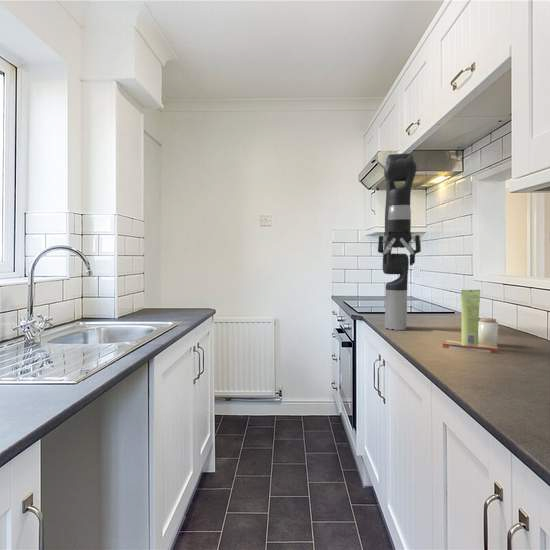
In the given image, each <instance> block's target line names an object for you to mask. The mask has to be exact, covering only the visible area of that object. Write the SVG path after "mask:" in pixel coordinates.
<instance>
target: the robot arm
mask: <svg viewBox="0 0 550 550" xmlns="http://www.w3.org/2000/svg"><path fill="white" fill-rule="evenodd" d="M414 160H415V159H414V156H413V155H412V154H411V153H392V154H388V155H387V157H386V161H385V165H384V170H383V174H384V175H383V177H384V178H385V183H386V184H385V185H386V188H385V209H384V235H379V236H378V243H377V245H378V246H377V252H378V253H380V254H382V271H383V274H384V275H399V276H398V278H396V279H394V280H392V281H389V282H386V284H385V291H384V292H385V299H384V300H385V303H384V305H385V306H384V328H385V329H387V328H388V330H392V329H394V330H395V331H404V330H407V327H408V326H407V325H408V324H407V322H408V320H407V319H408V282H409V281H408V277H409V266H413V265H414V264H415V262H416V254H418V253H420V252H422V246H421V245H422V244H421V235H419V234H418V235H412V234H411V226H412V209H411V192H412V188H413V187H412V186H413V183H414V181H415V176H416V173H417V169H418V168H417V164H416V162H415V161H414ZM396 182H404V184H403V185H402V186H400V187H397V186H396V184H395V183H396ZM412 240H413V242H414V243H415V249H414V248H413V247H412V245H411V244H410V242H411V241H412ZM393 248H394V249H398V248H400V249H404V248H405V249H406V250H407V251H408V252H409V256H408V254H407V253H392V250H393ZM394 330H393V331H394Z"/></svg>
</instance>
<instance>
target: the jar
mask: <svg viewBox="0 0 550 550" xmlns="http://www.w3.org/2000/svg"><path fill="white" fill-rule="evenodd" d="M479 318H480V320H479V323H478V344H479V345H482V346H491V347H494V346H497V347H498V339H499V338H498V337H499V336H498V335H499V322H498V321H497V318H493V317H492V318H491V317H479Z"/></svg>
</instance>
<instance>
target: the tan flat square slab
mask: <svg viewBox="0 0 550 550" xmlns="http://www.w3.org/2000/svg"><path fill="white" fill-rule="evenodd" d="M442 348H445V349H451V350H462V351H471V352H480V353H488V354H498V353H499V349H498V348H499V347H498V345H497V346H494V347H491V346H482V345H479V344H478V347H473V346H463V345H461V340H455V339H447V340H446V341H445V343H442Z"/></svg>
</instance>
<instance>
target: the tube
mask: <svg viewBox="0 0 550 550" xmlns="http://www.w3.org/2000/svg"><path fill="white" fill-rule="evenodd" d="M460 298H461V299H460V301H461V303H460V304H461V305H460V308H461V330H460V331H461V332H460V333H461V340H460V341H461V345H463V346H473V347H478V323H479V321H480V320H479V318H480V317H479V316H480V299H481V289H461V290H460Z"/></svg>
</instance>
